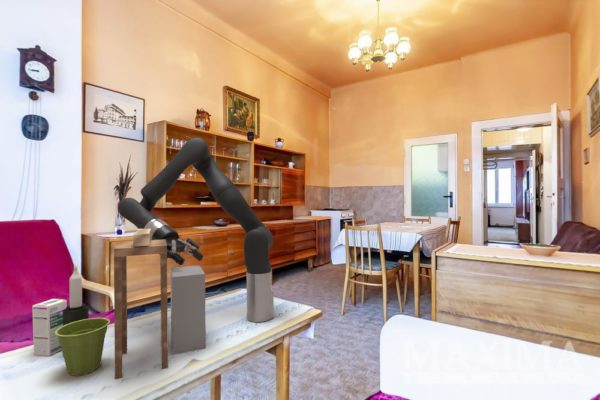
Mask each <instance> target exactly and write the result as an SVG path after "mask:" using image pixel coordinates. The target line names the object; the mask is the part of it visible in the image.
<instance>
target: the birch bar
mask: <svg viewBox="0 0 600 400" xmlns="http://www.w3.org/2000/svg"><path fill="white" fill-rule="evenodd" d="M150 240H151V228H150V229H138V228H137V230H136V231H135V232H134V233H133V234H132V241H133V247H135V246H149V244H150Z"/></svg>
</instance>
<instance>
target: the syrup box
mask: <svg viewBox="0 0 600 400" xmlns="http://www.w3.org/2000/svg"><path fill="white" fill-rule="evenodd" d="M67 303H68V301H67V299H64V298H51V299H49V300H46V301H42V302H38V303H36V304H33V305H32V307H31V309H32V338H33V339H32V340H33V342H32V343H33V344H32V345H33V355H35V356H41V357H51V356H52V355H54V354H56V353H58V352H60V351H62V348H61V344H60V343H59V339H58V336H56V335H55V331H56V330H57V329H58V328H60V327H62V326H63V310H64V309H66V307H67V306H68V304H67Z"/></svg>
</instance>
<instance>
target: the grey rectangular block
mask: <svg viewBox="0 0 600 400" xmlns="http://www.w3.org/2000/svg"><path fill="white" fill-rule="evenodd" d="M169 271H170V339H171V348H172V355H178V354H182V353H188V352H192V351H197V350H203V349H206V346H207V345H206V344H207V343H206V341H207V340H206V338H207V337H206V335H207V334H206V273H205V272H204V270H203V268H202V267H201V265H199V264H197V265H196V264H195V265H187V266H175V267H174V266H173V267H170V270H169Z"/></svg>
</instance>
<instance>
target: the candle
mask: <svg viewBox="0 0 600 400" xmlns="http://www.w3.org/2000/svg"><path fill="white" fill-rule="evenodd" d="M89 314H90V311H89V305H88V306H87V305H86V303H83V277H82V275H81V274H80V272H79V270H78V266H76V265H75V266H74V267H73V272H72V274H71V276H70V277H69V305H67V307H66V309H64V310H63V326H64V325H66V324H69V323H72V322H75V321H79V320H83V319H90V318H89V317H90V315H89Z"/></svg>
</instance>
